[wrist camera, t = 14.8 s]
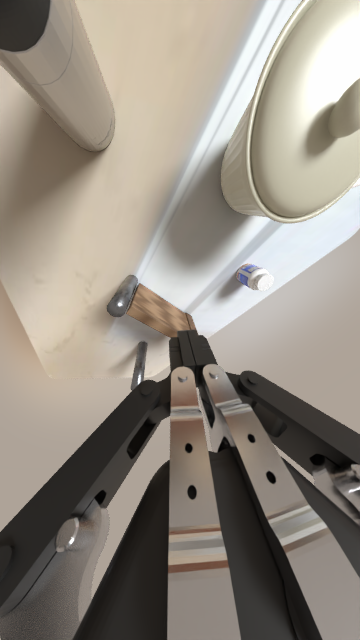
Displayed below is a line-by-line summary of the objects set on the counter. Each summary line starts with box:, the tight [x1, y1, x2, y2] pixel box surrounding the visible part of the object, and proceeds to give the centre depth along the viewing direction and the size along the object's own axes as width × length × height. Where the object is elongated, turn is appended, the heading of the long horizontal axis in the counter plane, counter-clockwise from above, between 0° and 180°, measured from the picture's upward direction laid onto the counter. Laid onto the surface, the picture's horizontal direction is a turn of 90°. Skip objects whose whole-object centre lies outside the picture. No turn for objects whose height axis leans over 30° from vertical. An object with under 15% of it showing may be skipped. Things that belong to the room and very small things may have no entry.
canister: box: [221, 0, 360, 223], centre depth 21 cm, size 18×18×21 cm
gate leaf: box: [126, 284, 198, 338], centre depth 37 cm, size 19×2×15 cm, turn 51°
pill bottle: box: [237, 264, 274, 291], centre depth 38 cm, size 5×5×10 cm
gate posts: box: [107, 275, 147, 391], centre depth 38 cm, size 26×3×17 cm, turn 179°
